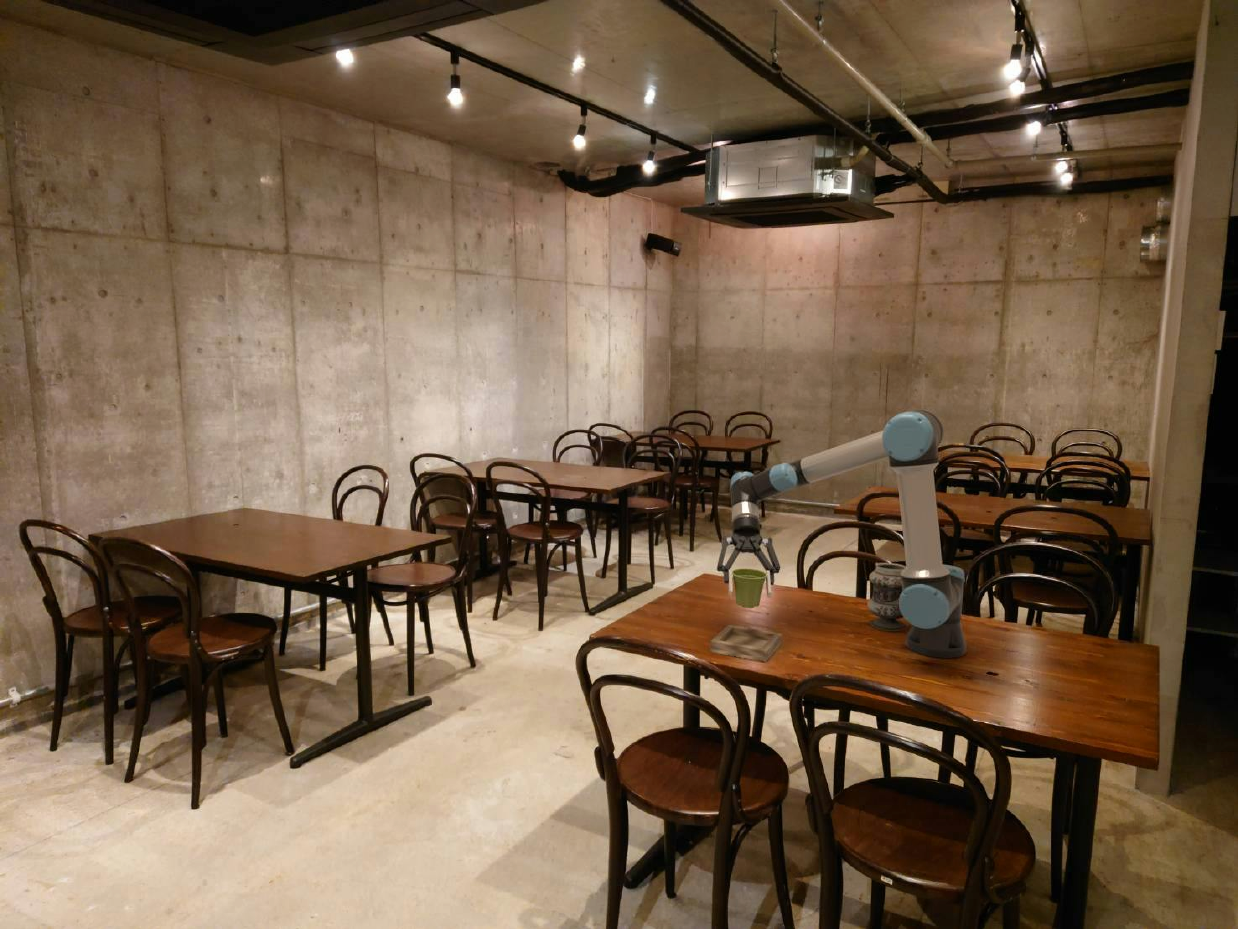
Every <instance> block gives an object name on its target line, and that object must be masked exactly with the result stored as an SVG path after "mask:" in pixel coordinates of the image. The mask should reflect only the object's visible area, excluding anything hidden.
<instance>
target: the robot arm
mask: <svg viewBox="0 0 1238 929" xmlns="http://www.w3.org/2000/svg"><path fill="white" fill-rule="evenodd" d="M883 428H884V429H882V430H881V431H877V432H875V433H872V434H869V435H866V436H862V437H861V438H857V439H855V440H852V441H848V442H846V443H843V444H840V445H837V446H835V447H833V448H829V449H826V450H823V451H821V452H818V453H815V454H812V455H809V456H807V457H803V458H801V459H797V460H794V461H792V462H789V463H787V462H783V463H780V464H779V463H778V464H776V465H773V466H772V467H770V468H768V469H765V470H763V471H761V472H759V473H757V474H754V473H752V472H750V471H743V472H741V471H739V472H735V474H733V475H732V477H731V479H730V488H729V492H730V501H731V502H730V503H731V523H732V524H731V526H732V527H731V531H732V535H731V537H727V536H726V535H723V536H721V542H720V543H721V550H720V554H719V558H718V560H717V566H716V571H717V572H722V573H723V583H724V584H727V585H728V597H733V592H734V591H733V586H734V585H733V575H732V571H733V570H732V569H731V568H732V566H733V564H734V563H735V561H736V559H737V557H738V556H739V555H740V553H742V554H744V553H745V554H746V553H748V554H754V556H755V557H756V558H757V560H758V561H759V562H760V565H761V566H762V567H763V569H764V570H765V571H766V572H765V573H767V577H766V578H765V588H766V597H767V598H771V595H772V586H774V584H775V574H779V573H780V572H781V571H780V570H781V565H780V563H779V562H780V561H779V559H778V556H777V554H776V552H775V549H774V546H773V538H772V537H768V538H763V537H762V535H761V525H760V515H759V512H760V511H759V502H762V501H765V500H767V499H769V498H773V497H774V496H777V495H781V494H782V493H783V494H784V493H786V492H789V491H792V490H795V489H798V488H801V487H803V486H806V485H807V486H808V485H810V484H812V483H816V482H818V481H822V480H825V479H828V478H831V477H834V476H837V475H841V474H843V473H847V472H848V471H853V470H856V469H858V468H862V467H865V466H869V465H872V464H874V463H877V462H880V461H883V460H887V459H888V463H889V468H890V469H891V470H893V471H894V473H896V475H897V477H896V478H897V479H896V480H897V486H898V488H897V489H898V495H899V496H898V497H899V498H898V499H899V506H900V516H901V526H902V536H903V547H904V557H905V567H906V568H905V569H904V570H903V571H902V572H901V581H902V593H901V595H900V598H899V608H900V611H901V613H902V615H903V618H904V619H905V620H906V621H907V622H908V623H909V624H910V625H909V628H908V631H907V633H906V635H905V646H906V648H908V649H909V650H911V651H913V652H914V653H917V654H919V655H923V656H928V657H933V658H938V659H940V658H941V659H955V658H960V657H963V656H965V655H964V654H967V653H966V651H967V642H966V639H965V634H964V632H963V627H962V612H963V599H964V598H963V597H964V583H965V582H966V579H965V571H964V570H963V569H962V568H961V567H957V566H954V565H948V564H943V557H942V546H941V545H942V544H941V537H940V536H941V535H940V527H939V526H940V525H939V516H938V505H937V504H938V503H937V496H936V495H937V494H936V485H935V476H934V470H935V469H936V467H937V466H938V465H939V463H940V460H939V459H940V458H939V450H938V448H939V446H940V445H941V443H942V440H943V437H944V426H943V424H942V421H941V420H940V419H939V418H938V417H937V415H935V414H934V413H932V412H930V411H927V410H922V409H921V410H918V409H917V410H912V411H906V412H900V413H897V414H896V415H895V416H893V417H892V418H891V419H889V421H888V422H887V423H886V424H885V426H884V427H883ZM730 544H732V545H733V546H734V549H733V551H732V553H731V555H730V557H729V558H728V559H727V561H726V563H725V565H724V561H725V557H726V552H727V548H728V547H729V546H730ZM761 545H763V546H764V548H765V549H766V552H767V555H768V558H769V559H768V558H767V557H766V555H765V553H764V552H763V550H762V547H761ZM769 560H770V561H769ZM962 655H963V656H962Z"/></svg>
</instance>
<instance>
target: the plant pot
mask: <svg viewBox="0 0 1238 929" xmlns="http://www.w3.org/2000/svg"><path fill="white" fill-rule="evenodd" d="M766 577H767V573H766V572H765V571H763V570H759V569H755V568H736V569H733V570H732V580H733V581H734V584H733V585H734V594H735V595H734V596H735V604H736V605H737V606H741V608H745V609H746V608H747V609H748V608H749V609H753V608H755V607H757V608H758V607H759V606H760V603H761V600H762V599H761V598H762V592H763V587H764V583H766Z"/></svg>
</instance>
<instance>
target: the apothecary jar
mask: <svg viewBox="0 0 1238 929" xmlns="http://www.w3.org/2000/svg"><path fill="white" fill-rule="evenodd" d="M905 568H906V565H903V564H899V563H893V562H892V563H891V562H880V563H876V565H875V569H874V570H873V571H871V573H870V574H869V581H870V583H871V584H872V586H873V587H872V596H871V598H870V599H869V600H868V601H867V606H866V607H867V609H868V610H869V612H870V613H871V614H872V615H874V616H876V617H878V618H876V619H873V620H871V621H870V622H869V623H870V626H871V627H872V628H874V627H875V629H878V630H880V631H886V632H901V631H905V629H906V628H907V626H906V624H905V623H904V622H902V621H900V620H898V619H903V618H904V617H903V615H902V613H901V611H900V608H899V598H900V595H901V593H902V581H901V572H902V571H903V570H904V569H905Z"/></svg>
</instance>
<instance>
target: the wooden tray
mask: <svg viewBox="0 0 1238 929" xmlns="http://www.w3.org/2000/svg"><path fill="white" fill-rule="evenodd" d="M782 638H783V634H782V633H780V632H776V631H768V630H763V629H757V628H751V627H746V626H740V625H735V624H728V625H727V626H726V627H725V628H723V629H722V630H721V631H720V632H719V633H718V634H717V635H716V636H715V637H713V638H712V639H711V640H710V645H709V646H710V647H709V648H710V649H709V650H710V651H709V652H710V653H714V654H719V655H725V656H728V655H729V657H734V656H736V657H735V658H739V657H741V658H740V659H744V658H751V659H755V660H760V661H764V662H763V663H765V662H766V661H767V660H768V659H769V660H770V659H771V657H772V656H773V655H774V654H775V653H776V651H777V650H778V649H779V648H780V647H781V646H782ZM773 653H774V654H773ZM755 660H754V661H755ZM769 660H768V661H769ZM760 661H759V662H760ZM768 661H767V662H768ZM767 662H766V663H767Z"/></svg>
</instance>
